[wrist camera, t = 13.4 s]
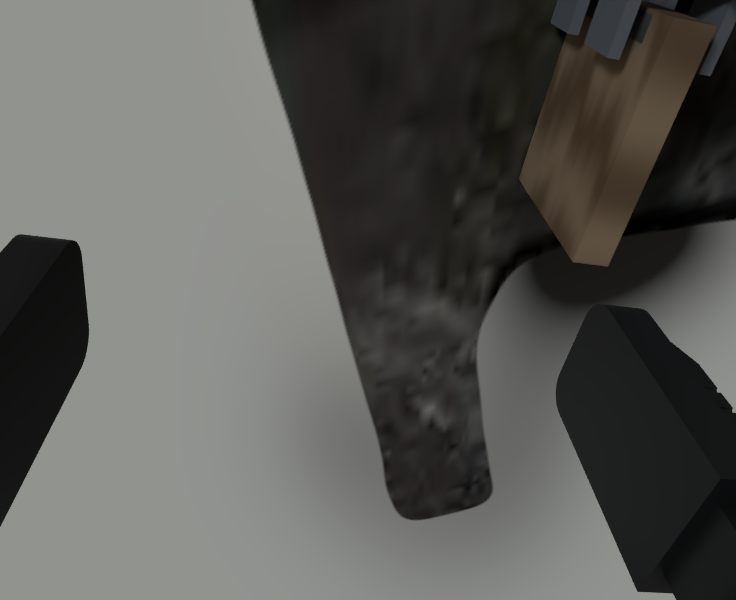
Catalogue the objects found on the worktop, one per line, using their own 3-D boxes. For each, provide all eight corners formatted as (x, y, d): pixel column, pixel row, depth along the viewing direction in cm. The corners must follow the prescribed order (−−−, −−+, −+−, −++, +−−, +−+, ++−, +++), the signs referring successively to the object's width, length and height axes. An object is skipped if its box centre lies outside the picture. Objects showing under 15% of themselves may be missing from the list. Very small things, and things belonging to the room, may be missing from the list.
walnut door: (582, -18, 35) (673, 17, 26) (636, -7, 35) (744, 31, 26) (518, 178, 41) (572, 261, 32) (564, 185, 42) (630, 269, 33)
